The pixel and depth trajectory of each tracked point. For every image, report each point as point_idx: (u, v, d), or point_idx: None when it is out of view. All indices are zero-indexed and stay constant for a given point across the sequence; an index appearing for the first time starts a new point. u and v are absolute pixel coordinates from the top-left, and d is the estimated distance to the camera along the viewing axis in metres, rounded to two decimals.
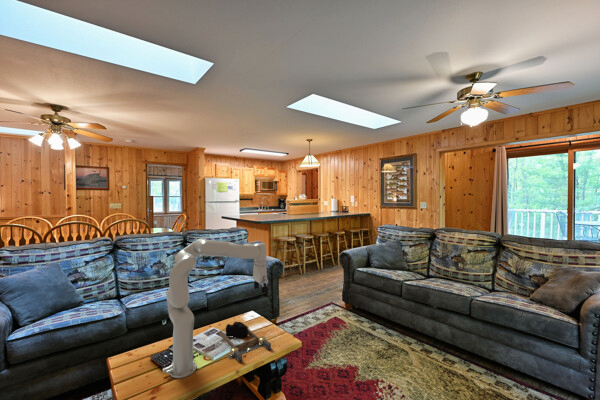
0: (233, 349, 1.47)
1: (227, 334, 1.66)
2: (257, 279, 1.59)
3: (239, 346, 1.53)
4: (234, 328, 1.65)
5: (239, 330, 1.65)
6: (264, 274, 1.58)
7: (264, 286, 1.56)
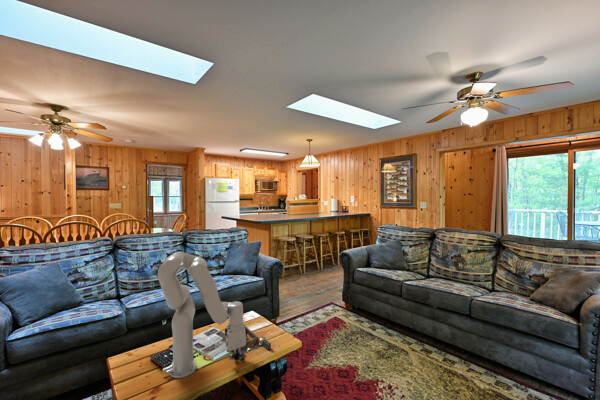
0: None
1: None
2: (241, 344, 1.40)
3: None
4: None
5: None
6: None
7: (239, 350, 1.42)
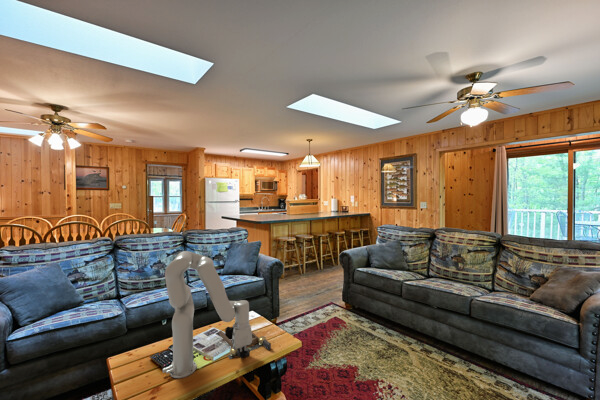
0: None
1: None
2: (247, 342, 1.42)
3: None
4: None
5: None
6: None
7: (245, 348, 1.44)
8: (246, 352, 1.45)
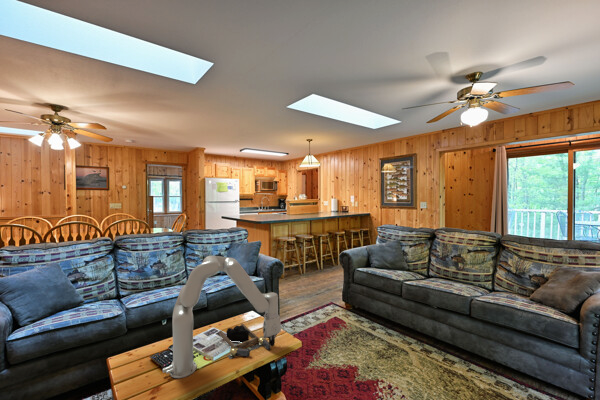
0: (234, 349, 1.47)
1: (228, 338, 1.61)
2: (276, 330, 1.54)
3: (239, 346, 1.53)
4: (235, 332, 1.60)
5: (240, 335, 1.59)
6: None
7: None
8: (246, 352, 1.45)
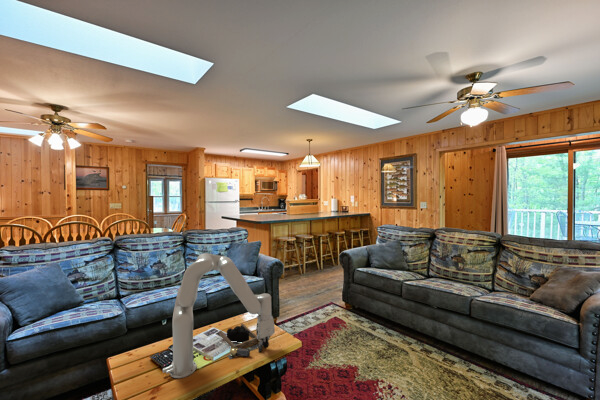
0: (234, 349, 1.47)
1: None
2: (270, 332, 1.51)
3: (239, 346, 1.53)
4: (235, 333, 1.59)
5: (240, 335, 1.59)
6: None
7: (268, 338, 1.53)
8: (246, 352, 1.45)
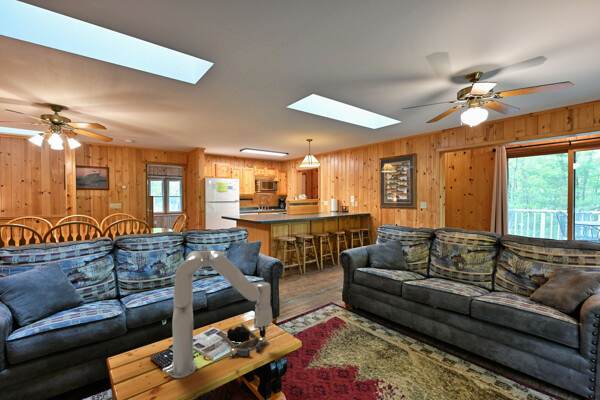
0: (234, 349, 1.47)
1: None
2: (267, 321, 1.50)
3: (239, 346, 1.53)
4: (235, 333, 1.59)
5: (240, 335, 1.58)
6: None
7: None
8: (246, 352, 1.45)
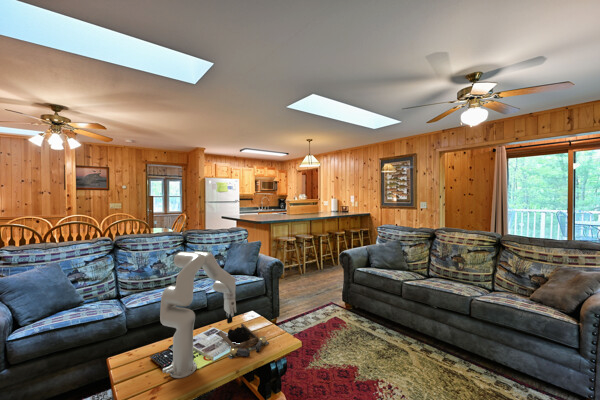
0: (234, 349, 1.47)
1: (229, 339, 1.60)
2: None
3: (239, 346, 1.53)
4: (235, 334, 1.58)
5: (240, 336, 1.57)
6: None
7: None
8: (246, 352, 1.45)
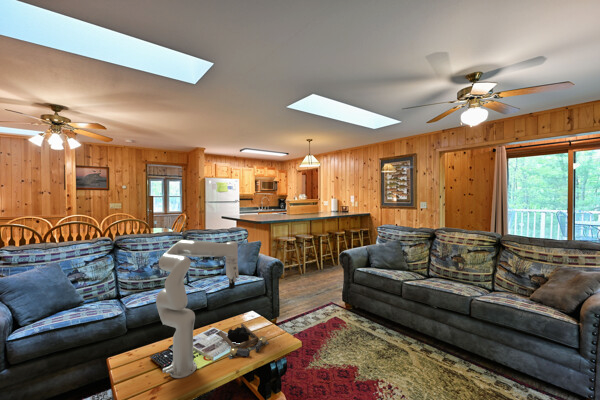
0: (234, 349, 1.47)
1: None
2: None
3: (239, 346, 1.53)
4: (235, 334, 1.58)
5: (240, 336, 1.57)
6: None
7: None
8: (246, 352, 1.45)
